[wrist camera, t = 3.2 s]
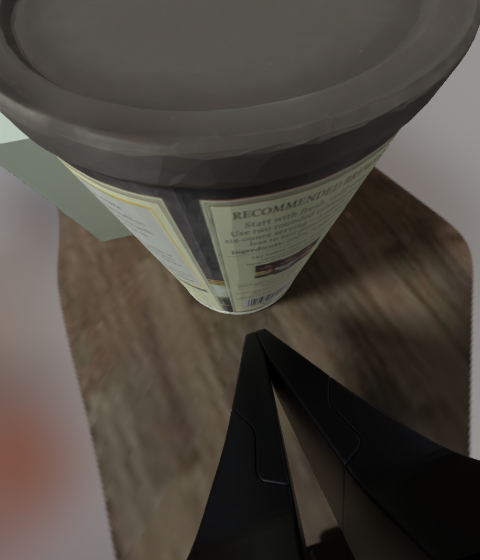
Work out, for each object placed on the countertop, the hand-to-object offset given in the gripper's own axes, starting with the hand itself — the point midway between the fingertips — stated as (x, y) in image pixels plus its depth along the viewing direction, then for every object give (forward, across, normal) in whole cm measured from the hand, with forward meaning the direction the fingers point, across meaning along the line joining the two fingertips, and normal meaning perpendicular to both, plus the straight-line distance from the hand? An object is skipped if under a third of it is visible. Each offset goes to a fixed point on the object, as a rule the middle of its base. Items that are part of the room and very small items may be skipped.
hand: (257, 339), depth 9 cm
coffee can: (+10, -1, 0) cm, 10 cm away
